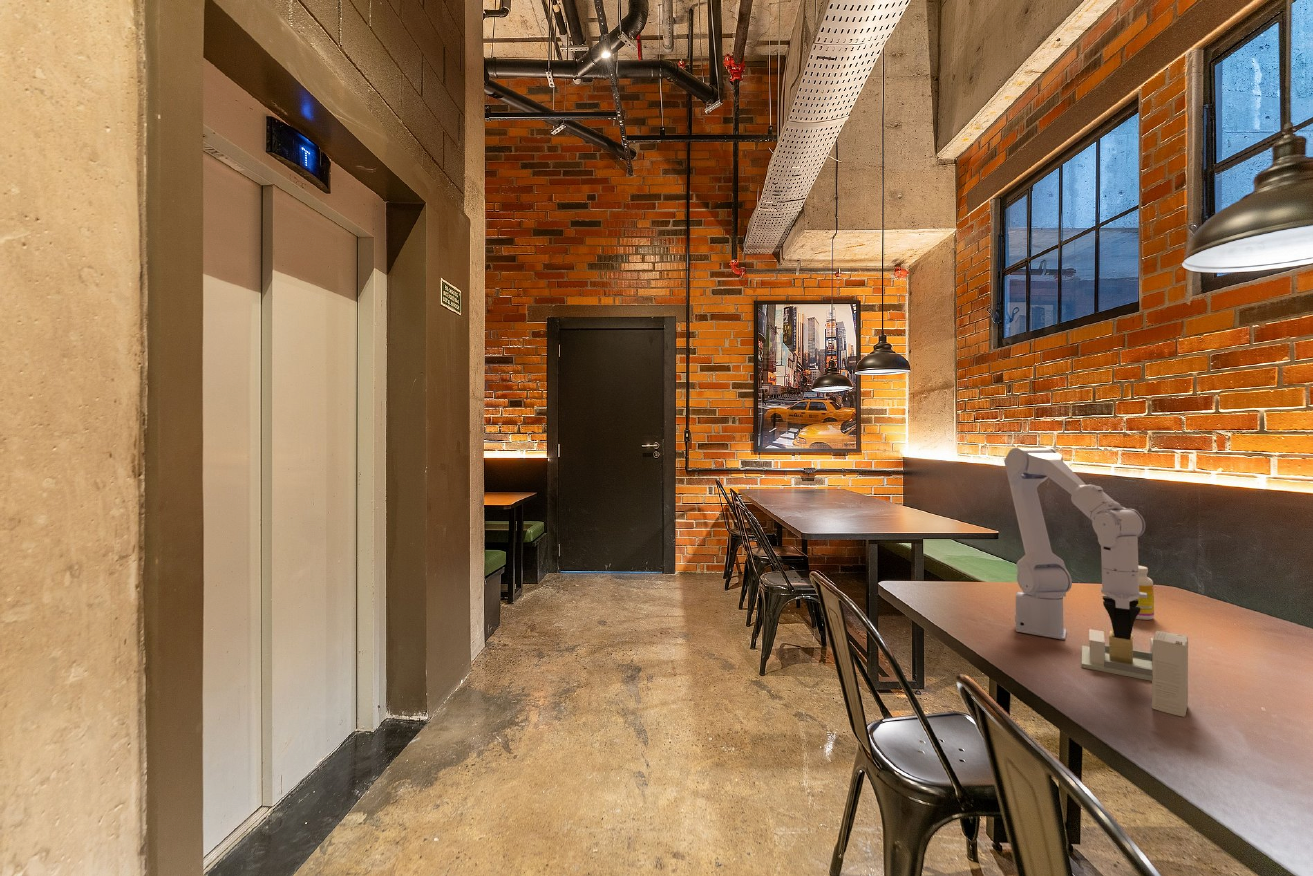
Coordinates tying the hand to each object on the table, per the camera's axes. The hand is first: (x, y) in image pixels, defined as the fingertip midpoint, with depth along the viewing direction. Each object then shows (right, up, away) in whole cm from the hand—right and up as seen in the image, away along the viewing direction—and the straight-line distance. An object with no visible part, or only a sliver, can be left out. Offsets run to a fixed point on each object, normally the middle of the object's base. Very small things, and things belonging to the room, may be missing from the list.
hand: (1121, 636), depth 110 cm
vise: (+1, -6, 0) cm, 6 cm away
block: (-1, -5, 0) cm, 5 cm away
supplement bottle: (+30, -6, +30) cm, 43 cm away
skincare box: (-7, -6, -17) cm, 20 cm away
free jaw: (+5, -5, -3) cm, 7 cm away
